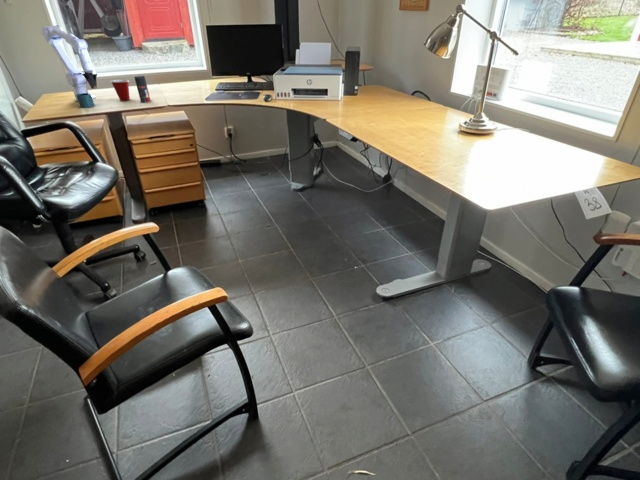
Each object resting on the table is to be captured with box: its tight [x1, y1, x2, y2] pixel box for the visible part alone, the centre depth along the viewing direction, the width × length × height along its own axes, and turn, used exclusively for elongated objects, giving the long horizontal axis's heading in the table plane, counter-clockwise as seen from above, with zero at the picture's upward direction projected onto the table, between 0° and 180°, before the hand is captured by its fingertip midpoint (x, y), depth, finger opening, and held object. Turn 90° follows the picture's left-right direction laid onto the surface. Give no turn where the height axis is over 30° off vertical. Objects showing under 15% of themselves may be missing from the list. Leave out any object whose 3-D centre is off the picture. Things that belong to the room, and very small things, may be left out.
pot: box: [76, 92, 97, 109], centre depth 236 cm, size 10×8×7 cm
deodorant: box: [134, 75, 152, 104], centre depth 241 cm, size 6×6×15 cm
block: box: [87, 79, 98, 89], centre depth 238 cm, size 4×4×6 cm
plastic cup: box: [110, 79, 130, 102], centre depth 247 cm, size 11×11×12 cm
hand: (93, 85), depth 239 cm, fingers closed on block, 3 cm apart
